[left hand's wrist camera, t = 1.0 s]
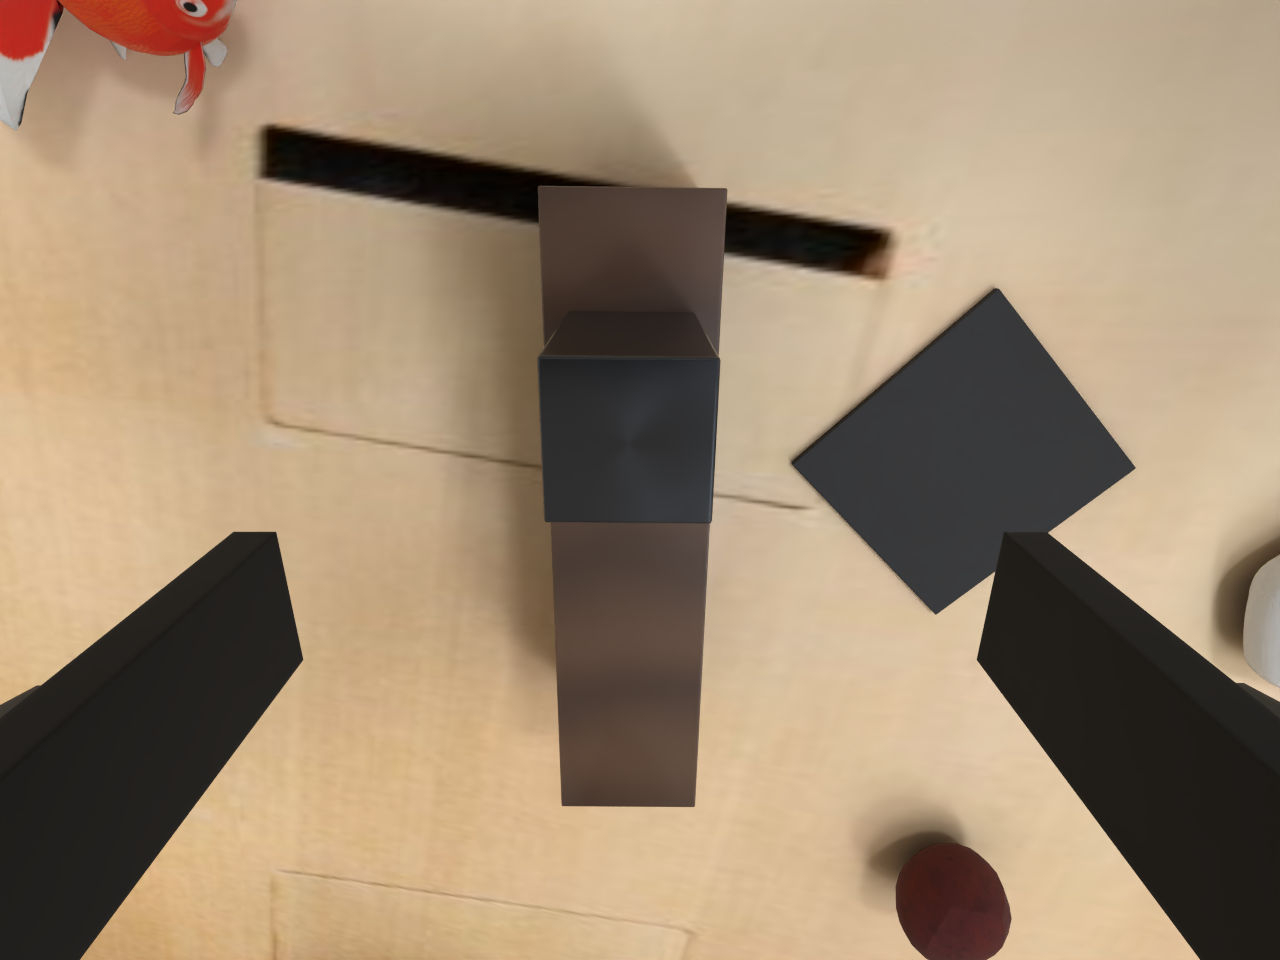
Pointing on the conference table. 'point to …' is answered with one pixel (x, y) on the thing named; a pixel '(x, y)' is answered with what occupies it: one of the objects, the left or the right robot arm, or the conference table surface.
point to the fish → (111, 39)
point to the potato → (952, 904)
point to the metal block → (628, 418)
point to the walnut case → (630, 552)
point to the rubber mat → (964, 454)
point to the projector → (1264, 623)
